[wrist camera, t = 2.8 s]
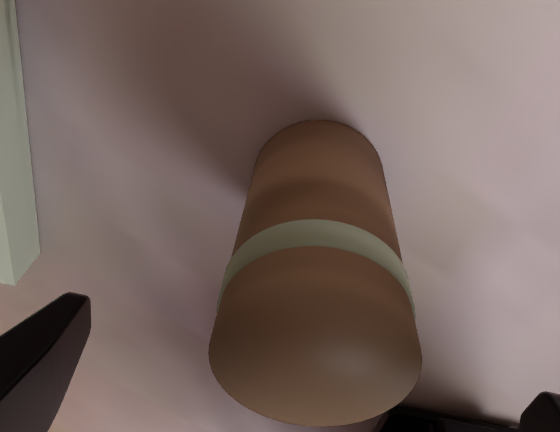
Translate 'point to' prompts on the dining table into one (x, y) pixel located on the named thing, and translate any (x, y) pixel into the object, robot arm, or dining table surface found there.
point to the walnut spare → (316, 286)
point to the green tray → (14, 159)
